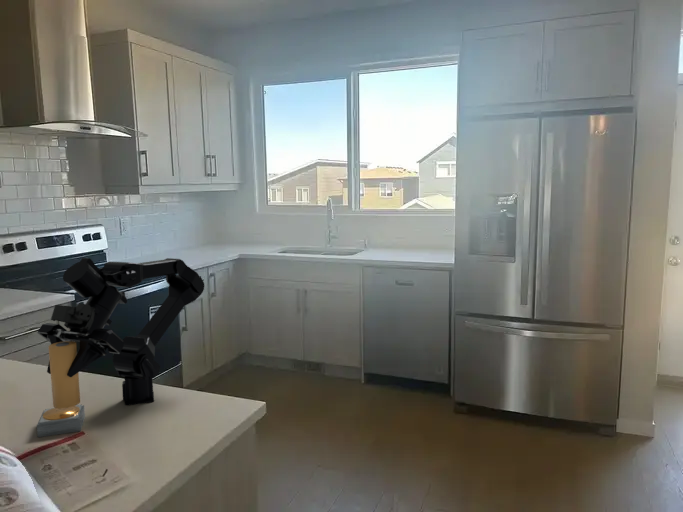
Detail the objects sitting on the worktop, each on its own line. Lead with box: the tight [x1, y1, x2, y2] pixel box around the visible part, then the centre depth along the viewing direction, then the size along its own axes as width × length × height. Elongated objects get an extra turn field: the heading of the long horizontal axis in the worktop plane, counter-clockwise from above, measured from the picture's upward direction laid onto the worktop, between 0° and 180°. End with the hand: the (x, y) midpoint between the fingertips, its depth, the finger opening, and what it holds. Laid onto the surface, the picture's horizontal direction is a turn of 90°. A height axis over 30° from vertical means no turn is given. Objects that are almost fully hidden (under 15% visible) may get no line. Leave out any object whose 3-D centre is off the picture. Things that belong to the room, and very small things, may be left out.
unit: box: [36, 404, 86, 438], centre depth 112 cm, size 8×8×3 cm
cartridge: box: [47, 341, 81, 408], centre depth 106 cm, size 5×5×13 cm
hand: (58, 374), depth 105 cm, fingers closed on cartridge, 5 cm apart
